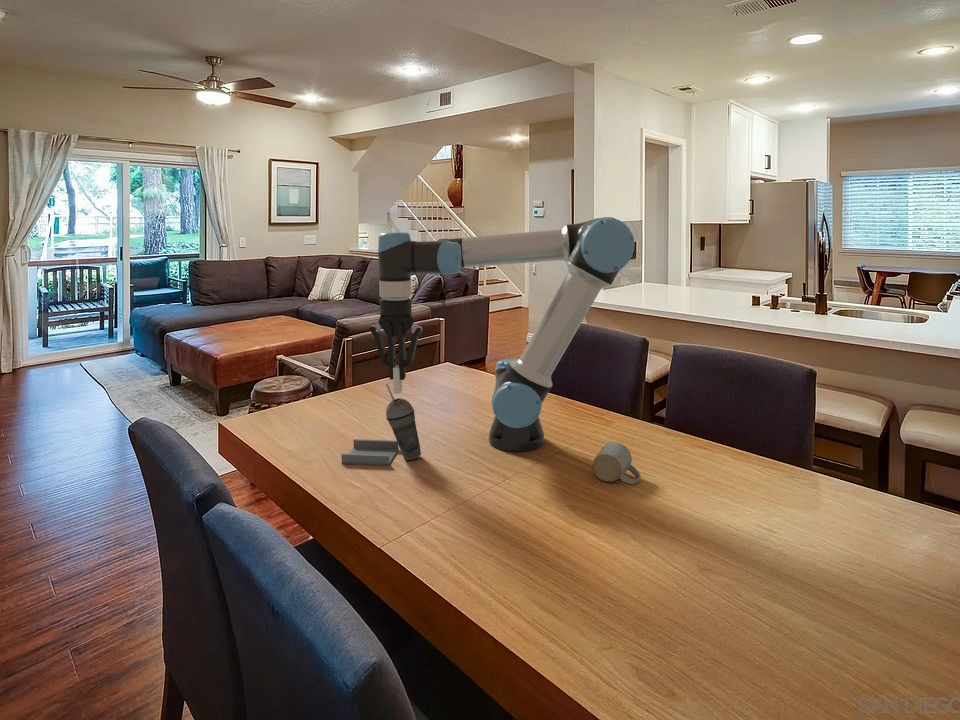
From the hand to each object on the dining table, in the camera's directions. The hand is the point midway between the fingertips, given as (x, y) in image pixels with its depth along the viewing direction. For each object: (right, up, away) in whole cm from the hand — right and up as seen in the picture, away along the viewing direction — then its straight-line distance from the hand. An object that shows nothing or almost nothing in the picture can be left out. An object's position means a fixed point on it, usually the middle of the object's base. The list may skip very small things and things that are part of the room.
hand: (397, 391), depth 146 cm
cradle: (-8, -17, +5) cm, 19 cm away
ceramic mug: (+53, -20, -7) cm, 57 cm away
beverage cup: (+3, -17, +4) cm, 18 cm away
